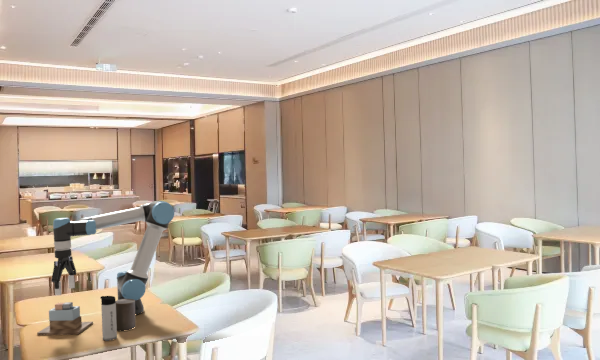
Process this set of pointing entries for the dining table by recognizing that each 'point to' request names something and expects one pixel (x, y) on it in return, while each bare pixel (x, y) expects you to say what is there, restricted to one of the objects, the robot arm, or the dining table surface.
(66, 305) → the metal block
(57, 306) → the terracotta block
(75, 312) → the blue-grey open box
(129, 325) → the pillar candle
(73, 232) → the robot arm
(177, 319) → the dining table surface
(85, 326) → the dock
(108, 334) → the travel mug
